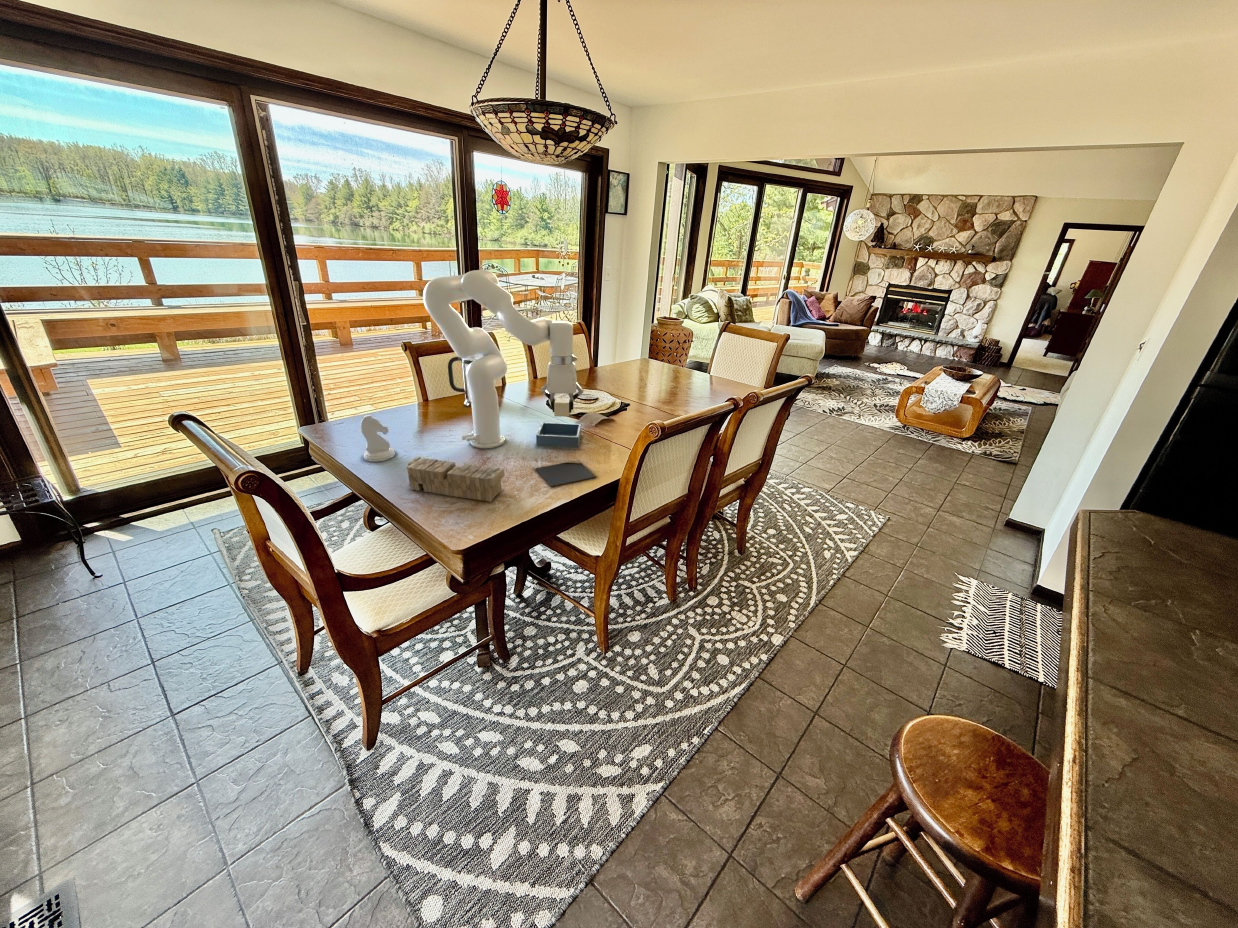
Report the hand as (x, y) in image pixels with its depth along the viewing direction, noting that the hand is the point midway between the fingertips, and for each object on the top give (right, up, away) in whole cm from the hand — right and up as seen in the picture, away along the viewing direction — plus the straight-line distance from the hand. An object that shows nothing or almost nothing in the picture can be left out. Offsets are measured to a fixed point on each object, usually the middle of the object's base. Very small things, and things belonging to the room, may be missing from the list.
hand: (562, 410), depth 168 cm
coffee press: (-46, +9, +54) cm, 71 cm away
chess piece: (-63, -16, -1) cm, 65 cm away
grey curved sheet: (+10, -1, +39) cm, 40 cm away
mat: (+2, -22, -7) cm, 23 cm away
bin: (-3, -10, +17) cm, 20 cm away
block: (0, -1, +1) cm, 1 cm away
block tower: (-30, -27, -21) cm, 45 cm away
